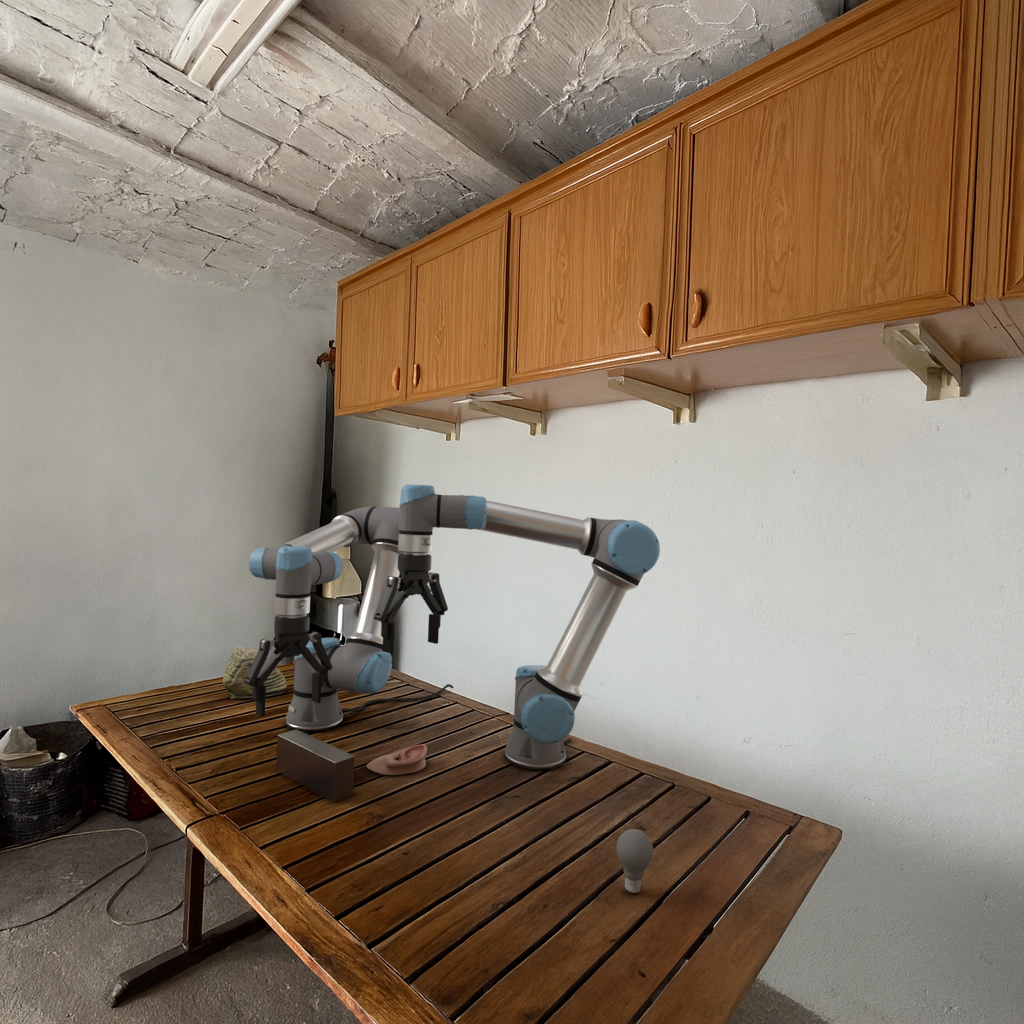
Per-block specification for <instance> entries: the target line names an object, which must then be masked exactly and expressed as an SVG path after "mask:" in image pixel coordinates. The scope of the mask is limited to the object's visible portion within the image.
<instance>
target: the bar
mask: <svg viewBox="0 0 1024 1024" xmlns="http://www.w3.org/2000/svg"><path fill="white" fill-rule="evenodd" d="M276 737H277V739H276V765H275V771H276V772H277V773H279V774H281V775H283V776H285V777H286V778H289V779H290V780H292V781H294V782H296V783H297V784H299V785H301V786H303V787H305V788H306V789H308V790H310V791H312V792H313V793H316V794H318V795H319V796H321V797H322V798H324V799H327V800H329V801H330V802H332V803H336V802H339V801H342V800H344V799H346V798H349V797H351V796H353V795H354V782H355V781H354V780H355V778H354V777H355V755H354V754H352V753H349V752H347V751H345V750H343V749H340V748H338V747H336V746H334V745H331V744H330V743H327V742H325V741H323V740H321V739H318V738H316V737H314V736H313V735H310V734H308V733H306V732H301V731H299V730H297V729H296V730H292V729H291V730H289V731H285V732H282V733H278V734H277V736H276Z"/></svg>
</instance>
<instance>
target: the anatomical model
mask: <svg viewBox="0 0 1024 1024" xmlns="http://www.w3.org/2000/svg"><path fill="white" fill-rule="evenodd" d="M427 754H428V747H427V745H426V744H424V743H421V744H416V745H413V746H409V747H405V748H403V749H401V750H397V751H395V752H392V753H389V754H385V755H382V756H381V755H380V756H379V757H377V758H375V759H372V760H371V761H370V762H368V763H367V764H366V768H367V770H369V771H371V772H374V773H377V774H379V775H383V776H399V775H406V774H412V773H417V772H419V771H421V770H423V769H424V768H425V767H426V766H427V760H426V756H427Z"/></svg>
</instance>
